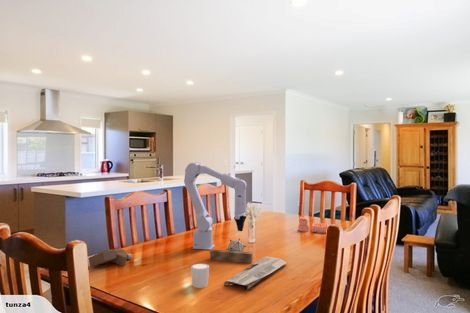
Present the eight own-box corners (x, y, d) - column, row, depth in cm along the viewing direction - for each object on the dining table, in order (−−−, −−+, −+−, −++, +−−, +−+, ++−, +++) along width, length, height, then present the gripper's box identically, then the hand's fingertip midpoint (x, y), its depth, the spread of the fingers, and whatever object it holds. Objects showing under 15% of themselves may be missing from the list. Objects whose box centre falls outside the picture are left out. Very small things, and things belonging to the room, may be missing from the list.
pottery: (328, 230, 214) (328, 214, 214) (327, 233, 205) (327, 217, 205) (298, 228, 219) (298, 213, 219) (297, 231, 210) (297, 216, 210)
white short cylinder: (191, 281, 130) (191, 263, 130) (209, 281, 130) (209, 262, 130) (190, 289, 123) (190, 269, 123) (209, 288, 123) (209, 269, 123)
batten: (210, 259, 156) (210, 251, 156) (211, 258, 158) (211, 249, 158) (251, 263, 151) (251, 254, 151) (252, 261, 153) (252, 252, 153)
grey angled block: (137, 268, 154) (104, 274, 139) (118, 259, 161) (84, 264, 146) (141, 251, 154) (108, 256, 139) (121, 243, 161) (88, 247, 146)
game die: (239, 264, 160) (244, 251, 154) (222, 257, 161) (227, 244, 155) (243, 250, 167) (249, 237, 162) (228, 244, 168) (233, 231, 162)
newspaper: (263, 260, 156) (263, 252, 156) (288, 265, 150) (288, 257, 150) (221, 287, 125) (221, 277, 125) (252, 294, 119) (252, 284, 119)
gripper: (245, 206, 164) (244, 234, 165) (251, 202, 178) (250, 228, 179) (230, 205, 166) (230, 233, 166) (237, 201, 180) (237, 227, 180)
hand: (240, 230), depth 173 cm, fingers closed
